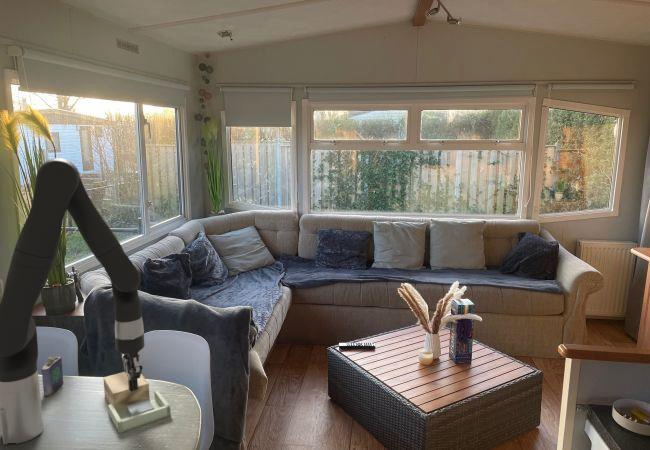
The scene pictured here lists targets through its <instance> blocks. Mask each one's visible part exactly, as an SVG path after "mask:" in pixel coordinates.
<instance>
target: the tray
mask: <svg viewBox="0 0 650 450" xmlns="http://www.w3.org/2000/svg"><path fill="white" fill-rule="evenodd" d="M153 393H154V398H153V399H151V400H149V402H150V403H151V404H152V405H153V407H154V410H151V411H148V412H145V413H141V414H138V415H135V416H132V417H130V416H129V415H128V413H127V409H126V408H124V409H121V410H117V411H116V410H115V408H114V407H113V405H112V404H108V415H109V417H110V419H111V421H112V423H113V425H114V427H115V428H116V431H117V432H118V434H121V433H125V432H128V431H130V430H132V429H136V428H139V427H141V426H145V425H147V424H150V423H151V424H152V423H153V422H156V421H159V420H162V419H164V418H165V419H166V418H169V417H171V406H170V404H169V403H168V401H167V400H166V399H165V397H164V396H163V395H162V394H161V393H160V391H159V390H158V389H156V390H154V392H153Z"/></svg>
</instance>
